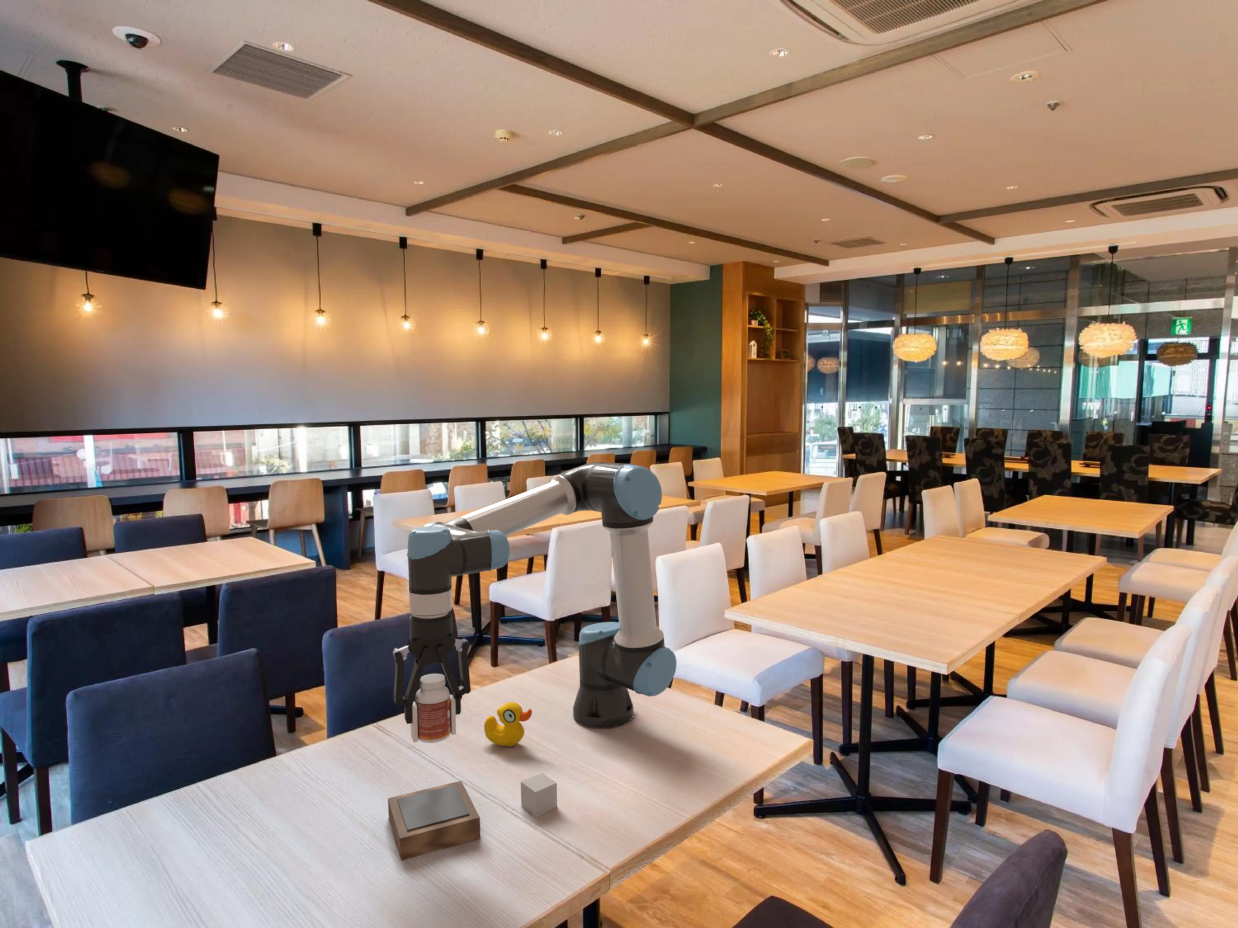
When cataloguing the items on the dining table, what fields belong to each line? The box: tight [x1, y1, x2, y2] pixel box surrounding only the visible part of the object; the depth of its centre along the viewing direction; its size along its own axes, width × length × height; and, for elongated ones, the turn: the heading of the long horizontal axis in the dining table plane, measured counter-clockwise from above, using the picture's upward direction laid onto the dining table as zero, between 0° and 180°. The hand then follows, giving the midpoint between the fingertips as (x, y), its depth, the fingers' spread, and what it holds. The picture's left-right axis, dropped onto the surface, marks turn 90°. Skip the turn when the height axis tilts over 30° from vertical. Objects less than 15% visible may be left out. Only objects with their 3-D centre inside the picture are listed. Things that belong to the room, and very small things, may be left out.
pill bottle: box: [414, 673, 451, 744], centre depth 132 cm, size 6×6×11 cm
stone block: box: [520, 772, 558, 817], centre depth 140 cm, size 5×5×5 cm
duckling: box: [483, 701, 533, 748], centre depth 165 cm, size 11×5×10 cm, turn 79°
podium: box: [387, 780, 481, 861], centre depth 133 cm, size 14×14×4 cm
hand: (433, 734), depth 133 cm, fingers closed on pill bottle, 6 cm apart
